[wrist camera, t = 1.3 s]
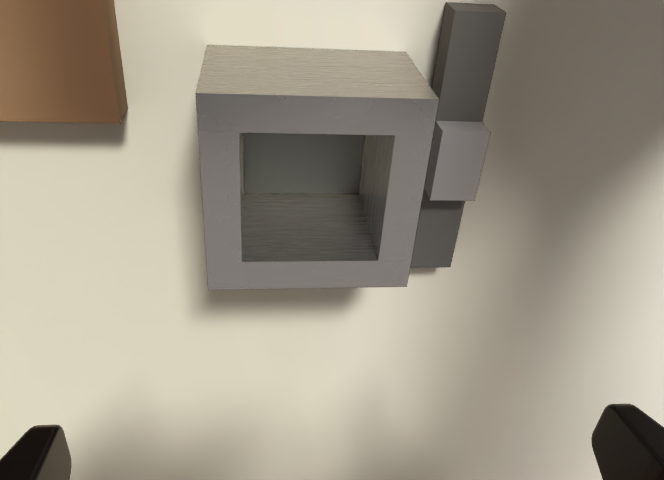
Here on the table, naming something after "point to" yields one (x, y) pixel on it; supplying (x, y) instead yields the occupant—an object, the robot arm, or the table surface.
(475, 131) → the grey long bar
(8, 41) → the wooden peg board
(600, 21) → the table surface
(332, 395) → the table surface
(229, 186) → the end link
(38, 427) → the robot arm
